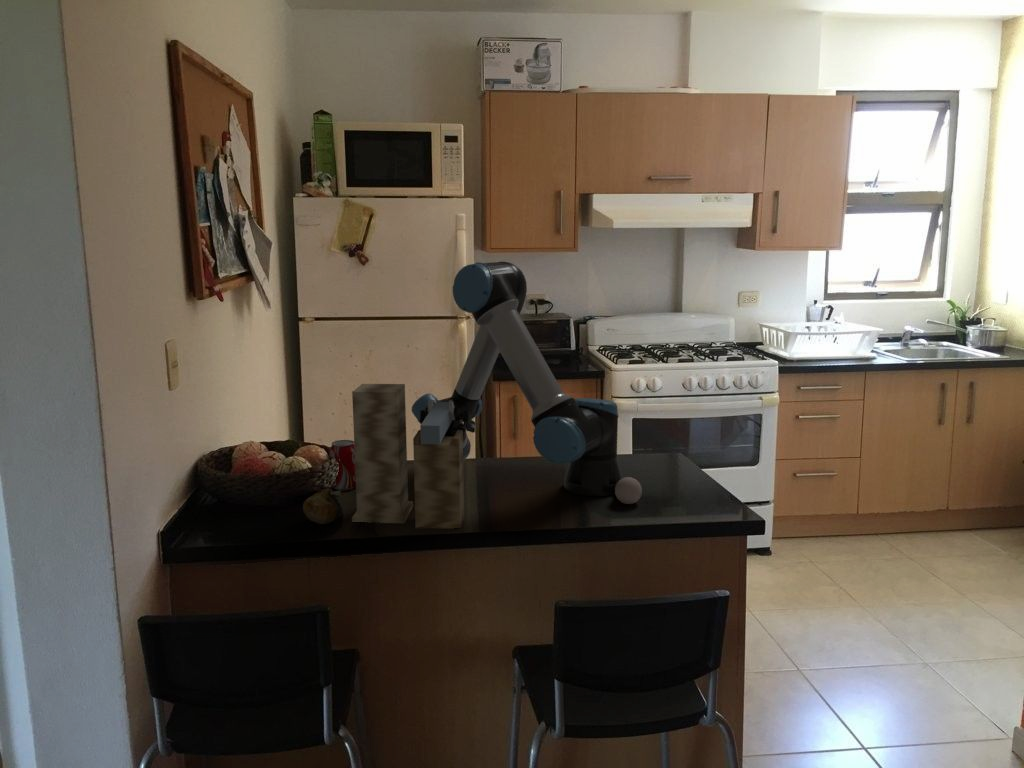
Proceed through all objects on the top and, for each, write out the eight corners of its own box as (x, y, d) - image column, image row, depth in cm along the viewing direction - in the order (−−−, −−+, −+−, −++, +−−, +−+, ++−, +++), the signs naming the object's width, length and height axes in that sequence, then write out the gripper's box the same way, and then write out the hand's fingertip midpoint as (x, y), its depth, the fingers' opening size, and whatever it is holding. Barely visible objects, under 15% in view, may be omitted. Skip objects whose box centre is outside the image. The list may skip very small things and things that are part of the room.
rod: (453, 418, 197) (452, 402, 196) (439, 444, 173) (439, 425, 173) (436, 418, 197) (436, 401, 197) (420, 444, 174) (420, 425, 173)
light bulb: (609, 474, 209) (620, 475, 198) (634, 478, 210) (647, 479, 199) (605, 501, 208) (616, 502, 197) (630, 505, 209) (643, 506, 198)
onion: (314, 515, 194) (313, 482, 193) (345, 518, 192) (344, 485, 190) (296, 526, 187) (295, 492, 186) (328, 530, 185) (326, 495, 183)
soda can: (352, 492, 211) (350, 446, 209) (326, 491, 212) (324, 445, 210) (362, 484, 218) (361, 439, 216) (337, 483, 219) (335, 438, 217)
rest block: (464, 516, 193) (462, 430, 189) (460, 528, 185) (458, 438, 181) (421, 515, 193) (418, 429, 190) (415, 528, 185) (413, 438, 182)
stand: (413, 506, 200) (409, 383, 195) (404, 523, 188) (400, 393, 183) (363, 505, 201) (358, 383, 195) (352, 522, 189) (346, 392, 184)
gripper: (484, 449, 209) (477, 422, 187) (416, 448, 210) (401, 421, 188) (485, 420, 212) (478, 390, 190) (418, 419, 212) (403, 389, 190)
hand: (440, 406), depth 189 cm, fingers closed on rod, 4 cm apart
